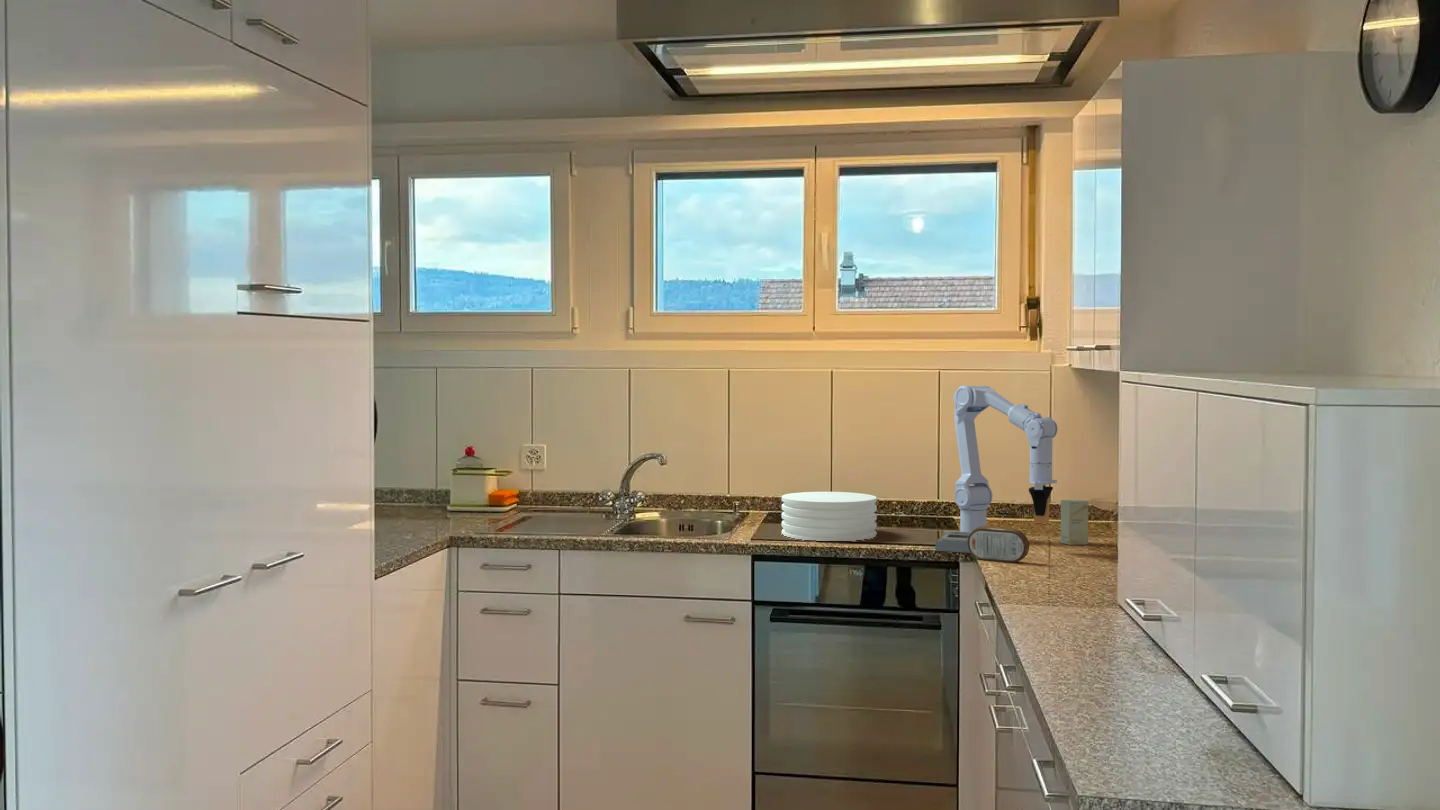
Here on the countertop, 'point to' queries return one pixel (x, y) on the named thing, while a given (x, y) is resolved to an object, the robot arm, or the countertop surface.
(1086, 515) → the skincare box
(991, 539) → the tin
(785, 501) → the plate stack
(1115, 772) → the countertop surface
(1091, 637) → the countertop surface
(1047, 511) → the tan cardboard-like brick
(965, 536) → the nested square metal frame
